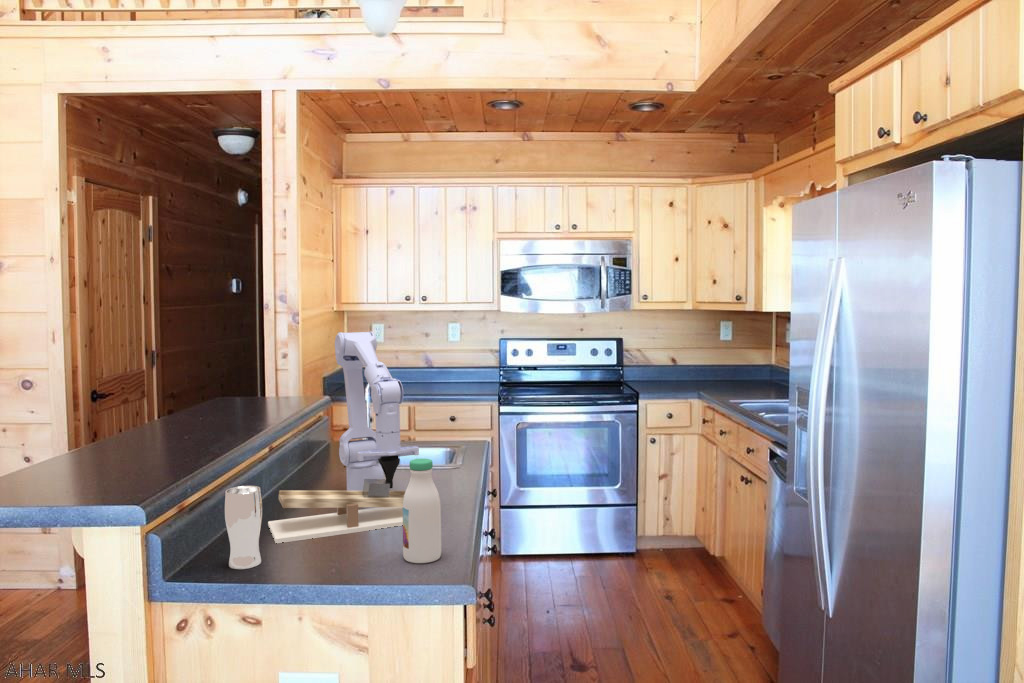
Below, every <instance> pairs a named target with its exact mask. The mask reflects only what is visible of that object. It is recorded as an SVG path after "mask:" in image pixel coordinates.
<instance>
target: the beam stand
mask: <svg viewBox="0 0 1024 683" xmlns="http://www.w3.org/2000/svg"><path fill="white" fill-rule="evenodd" d="M402 525H403V507H369V508H364V509H359V507H358V504H349V505H346V507H343V508H336V512H332V513H324V514H317V515H309V516H301V517H293V518H292V517H291V518H285V519H278V520H269V521H267V526H268V528H270V529H269V532H270V533H272V534H271V536H272V538H274V539H273V541H274V543H275V544H276V543H277V544H282V542H284V543H289V542H290V543H291V542H296V541H297V542H298V541H304V540H311V539H312V538H313V539H318V538H319V539H320V538H326V537H332V536H339V535H340V536H341V535H347V534H353V533H354V534H355V533H362V532H369V530H370V531H376V530H375V529H377V530H382V529H381V528H384V529H388V528H387V527H391V528H395V527H394V526H398V527H403V526H402Z"/></svg>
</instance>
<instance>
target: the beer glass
mask: <svg viewBox="0 0 1024 683" xmlns="http://www.w3.org/2000/svg"><path fill="white" fill-rule="evenodd" d="M261 492H262V491H261V487H260V486H257V485H241V486H239V485H238V486H235V487H230V488H228V489H226V490H225V492H224V494H225V496H224V497H225V499H224V520H225V526H226V531H227V534H228V535H227V536H228V541H229V546H230V554H229V560H228V568H230V569H233V570H247V569H252V568H254V567H257V566H259V565H260V564H261V563H262V557H261V553H260V546H259V545H260V543H259V542H260V535H261V534H260V532H261V526H262V520H263V501H262V493H261Z"/></svg>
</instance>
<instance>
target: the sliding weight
mask: <svg viewBox="0 0 1024 683" xmlns="http://www.w3.org/2000/svg"><path fill="white" fill-rule="evenodd" d="M390 489H391V488H390V483H389V482H387V481H386V478H384V479H364V484H363V495H362V496H363V497H364V498H389V491H391V490H390Z"/></svg>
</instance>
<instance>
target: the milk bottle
mask: <svg viewBox="0 0 1024 683" xmlns="http://www.w3.org/2000/svg"><path fill="white" fill-rule="evenodd" d="M433 465H434V464H433V460H432V459H430V458H414V459H411V460H410V461H409V472H410V479H409V482H408V484H407V487H406V490H405V491H406V492H405V494H404V499H403V526H402V555H403V559H404V560H405V561H407V562H408V563H413V564H427V563H432V562H436V561H437V560H439V559H440V558H441V557H442V516H441V515H442V511H441V510H442V509H441V508H442V507H441V498H440V494H439V491H438V488H437V487H436V484H435V483H434V480H433V475H432V472H433Z"/></svg>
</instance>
